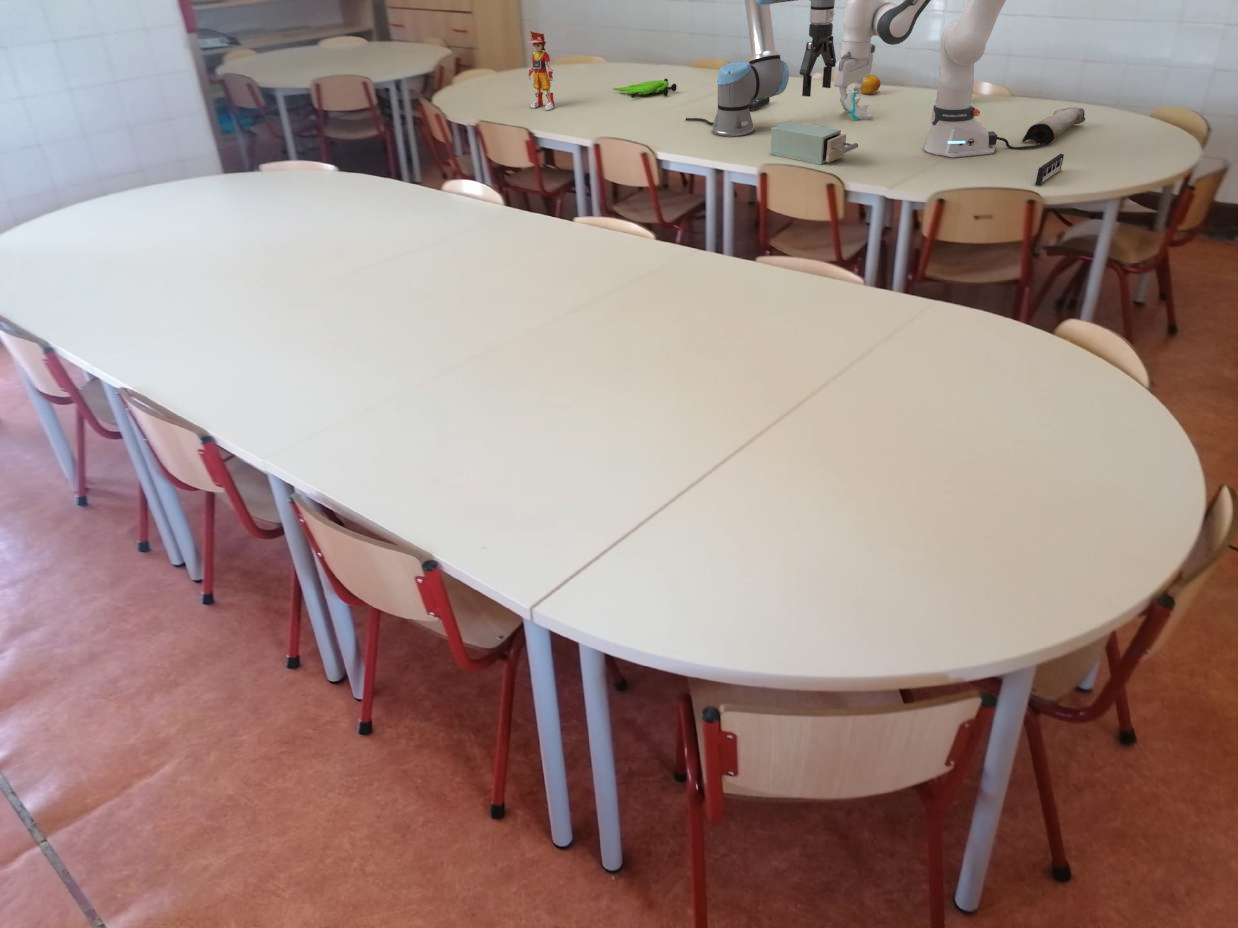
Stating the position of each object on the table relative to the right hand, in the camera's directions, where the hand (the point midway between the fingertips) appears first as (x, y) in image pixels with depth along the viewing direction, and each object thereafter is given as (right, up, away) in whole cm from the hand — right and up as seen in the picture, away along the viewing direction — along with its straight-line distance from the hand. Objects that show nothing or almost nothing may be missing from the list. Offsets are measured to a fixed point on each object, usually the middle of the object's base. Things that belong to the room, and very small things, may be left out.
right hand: (850, 96), depth 288 cm
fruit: (+30, +37, +86) cm, 98 cm away
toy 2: (-65, +47, +109) cm, 135 cm away
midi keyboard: (+58, -30, -13) cm, 66 cm away
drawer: (-7, -14, +15) cm, 21 cm away
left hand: (-7, +8, +16) cm, 19 cm away
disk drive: (-20, +28, +79) cm, 86 cm away
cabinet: (-11, -12, +19) cm, 25 cm away
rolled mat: (+77, -3, +25) cm, 81 cm away
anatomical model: (+16, +16, +58) cm, 62 cm away
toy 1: (-107, +34, +95) cm, 147 cm away
